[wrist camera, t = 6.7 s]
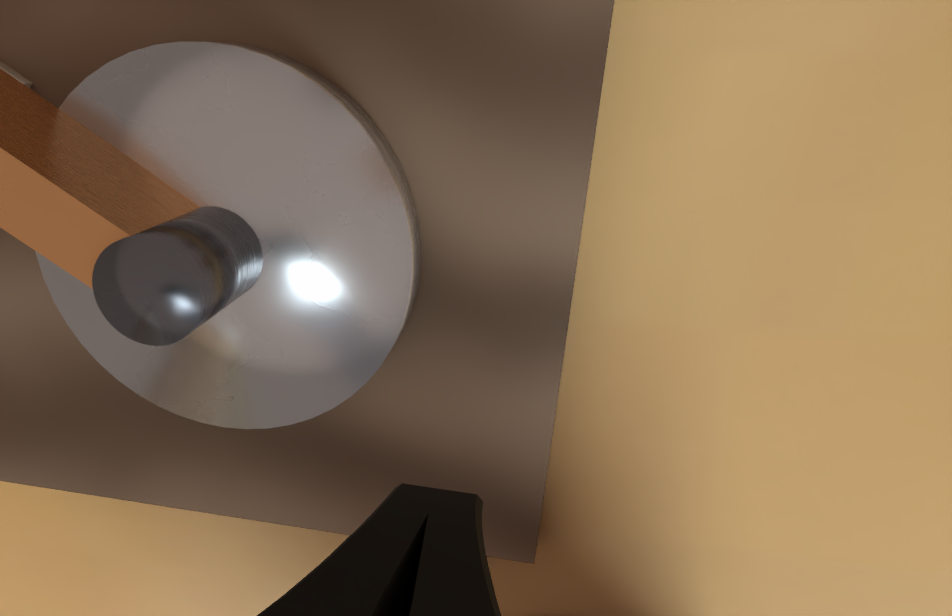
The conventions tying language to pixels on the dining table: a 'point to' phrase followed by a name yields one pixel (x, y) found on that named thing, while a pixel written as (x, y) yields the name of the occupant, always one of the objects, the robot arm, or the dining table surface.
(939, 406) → the dining table surface
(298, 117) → the dial
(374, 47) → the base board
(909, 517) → the dining table surface
